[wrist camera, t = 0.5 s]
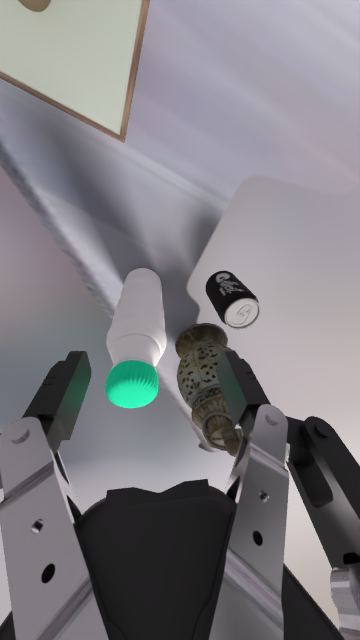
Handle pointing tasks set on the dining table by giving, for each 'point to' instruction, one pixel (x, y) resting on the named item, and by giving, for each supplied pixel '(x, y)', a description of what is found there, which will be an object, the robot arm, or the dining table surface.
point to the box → (129, 89)
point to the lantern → (206, 384)
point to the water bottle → (136, 340)
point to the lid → (72, 52)
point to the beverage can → (232, 300)
